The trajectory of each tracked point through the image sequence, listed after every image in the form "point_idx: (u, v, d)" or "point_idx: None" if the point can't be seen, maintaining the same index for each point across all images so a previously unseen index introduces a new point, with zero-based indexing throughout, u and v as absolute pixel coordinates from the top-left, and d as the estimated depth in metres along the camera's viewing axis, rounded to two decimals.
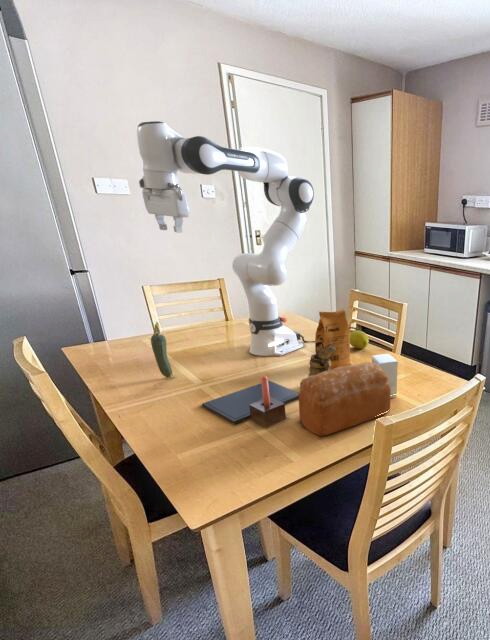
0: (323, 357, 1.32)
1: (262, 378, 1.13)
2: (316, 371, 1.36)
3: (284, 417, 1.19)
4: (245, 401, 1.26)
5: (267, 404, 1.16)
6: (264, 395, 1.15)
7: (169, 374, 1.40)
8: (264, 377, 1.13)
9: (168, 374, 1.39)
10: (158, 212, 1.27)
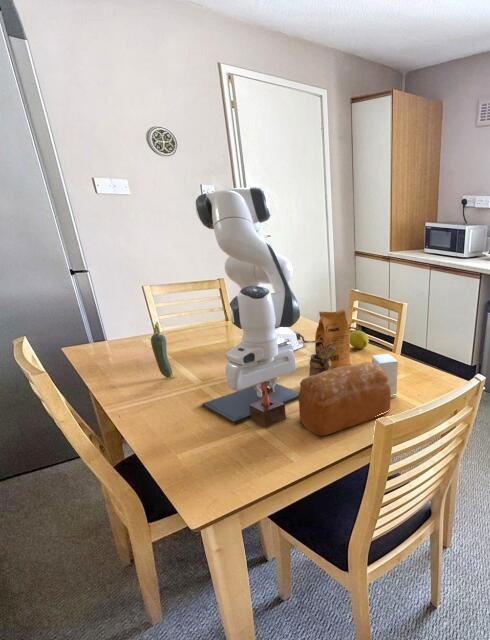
0: (323, 357, 1.32)
1: None
2: (316, 371, 1.36)
3: (284, 417, 1.19)
4: (245, 401, 1.26)
5: (266, 403, 1.17)
6: None
7: (169, 374, 1.40)
8: None
9: (168, 374, 1.39)
10: (261, 380, 1.11)
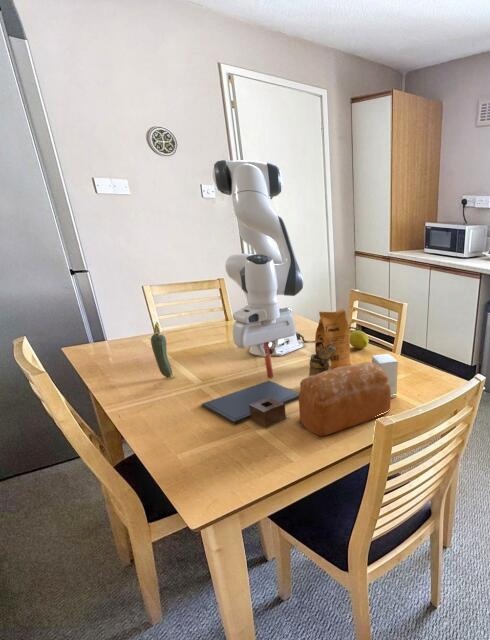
0: (323, 357, 1.32)
1: None
2: (316, 371, 1.36)
3: (284, 417, 1.19)
4: (245, 401, 1.26)
5: (269, 363, 1.29)
6: None
7: (169, 374, 1.40)
8: None
9: (168, 374, 1.39)
10: (264, 341, 1.24)
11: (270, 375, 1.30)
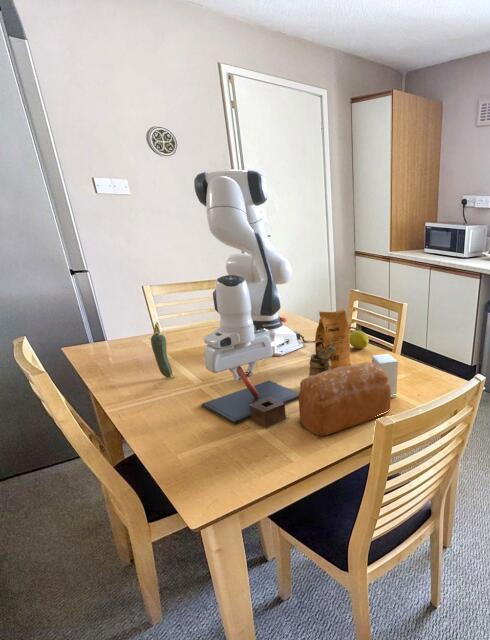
0: (323, 357, 1.32)
1: None
2: (316, 371, 1.36)
3: (284, 417, 1.19)
4: (245, 401, 1.26)
5: (249, 386, 1.26)
6: (243, 379, 1.24)
7: (169, 374, 1.40)
8: None
9: (168, 374, 1.39)
10: (238, 364, 1.19)
11: (255, 395, 1.28)
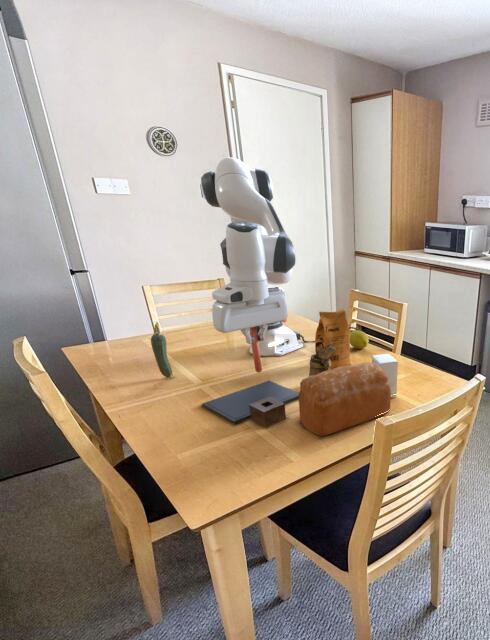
0: (323, 357, 1.32)
1: None
2: (316, 371, 1.36)
3: (284, 417, 1.19)
4: (245, 401, 1.26)
5: (256, 355, 1.11)
6: (253, 344, 1.10)
7: (169, 374, 1.40)
8: None
9: (168, 374, 1.39)
10: (250, 325, 1.05)
11: (258, 369, 1.12)
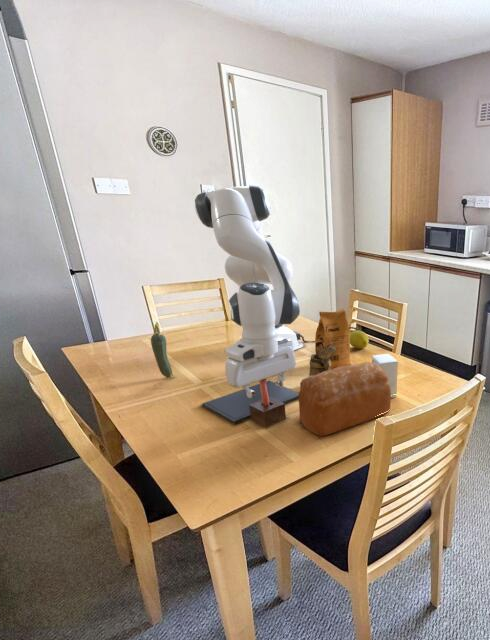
0: (323, 357, 1.32)
1: None
2: (316, 371, 1.36)
3: (284, 417, 1.19)
4: (245, 401, 1.26)
5: (266, 403, 1.17)
6: (263, 394, 1.16)
7: (169, 374, 1.40)
8: None
9: (168, 374, 1.39)
10: (261, 377, 1.11)
11: None
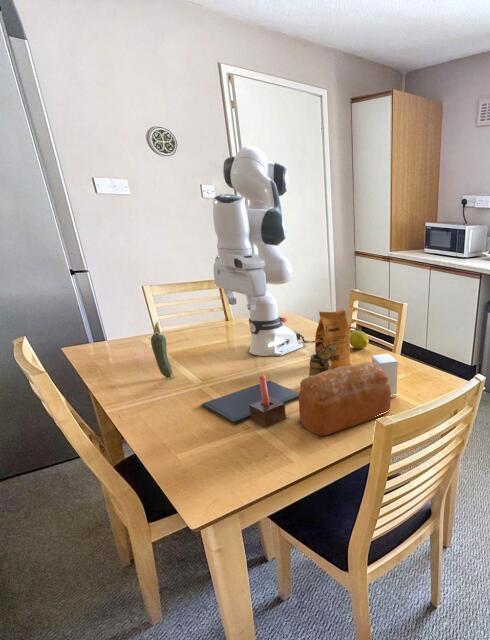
0: (323, 357, 1.32)
1: (260, 377, 1.14)
2: (316, 371, 1.36)
3: (284, 417, 1.19)
4: (245, 401, 1.26)
5: (266, 403, 1.17)
6: (263, 394, 1.16)
7: (169, 374, 1.40)
8: (262, 376, 1.14)
9: (168, 374, 1.39)
10: None
11: None
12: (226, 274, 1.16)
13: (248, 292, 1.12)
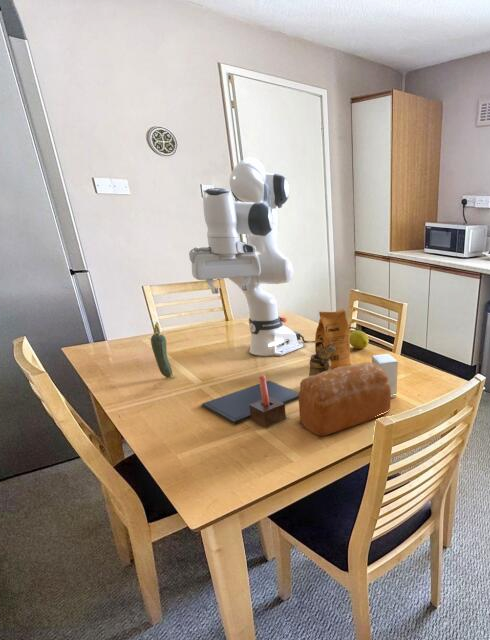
0: (323, 357, 1.32)
1: (260, 377, 1.14)
2: (316, 371, 1.36)
3: (284, 417, 1.19)
4: (245, 401, 1.26)
5: (266, 403, 1.17)
6: (263, 394, 1.16)
7: (169, 374, 1.40)
8: (262, 376, 1.14)
9: (168, 374, 1.39)
10: None
11: None
12: (217, 263, 1.24)
13: (251, 273, 1.31)
